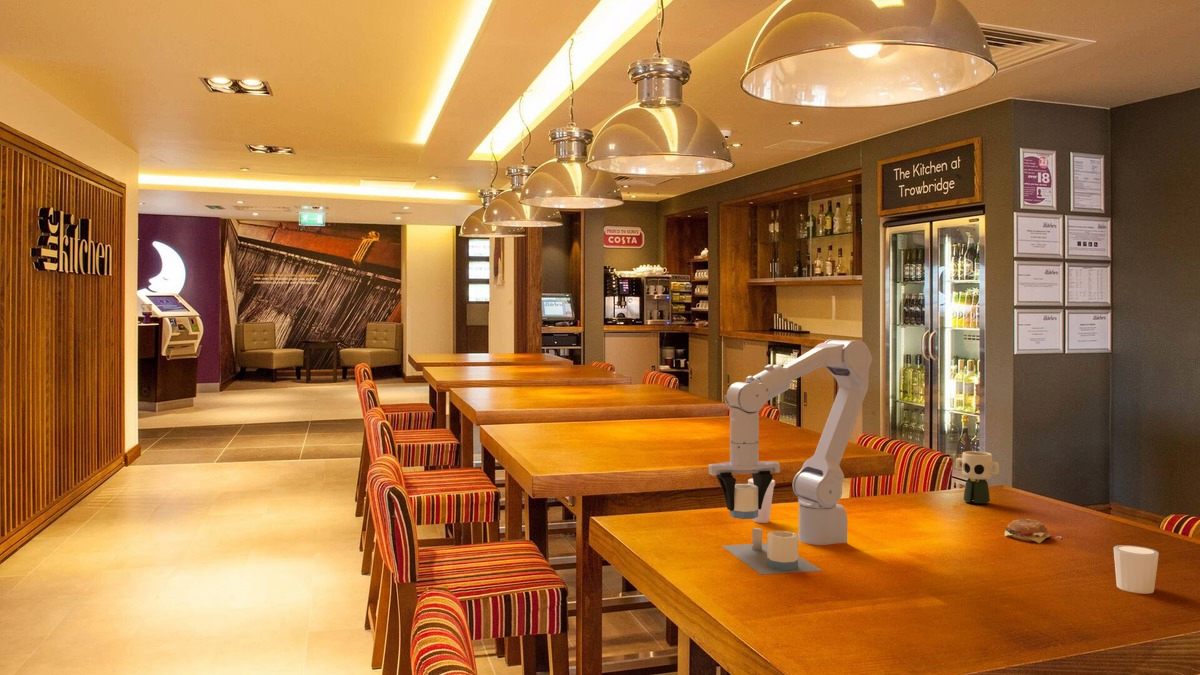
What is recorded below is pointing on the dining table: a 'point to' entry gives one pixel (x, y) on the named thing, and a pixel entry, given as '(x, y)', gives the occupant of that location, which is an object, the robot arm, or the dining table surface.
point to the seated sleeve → (782, 550)
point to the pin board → (763, 556)
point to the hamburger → (1028, 530)
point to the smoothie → (764, 503)
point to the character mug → (977, 474)
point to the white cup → (1135, 568)
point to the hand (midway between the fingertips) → (744, 509)
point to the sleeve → (745, 501)
